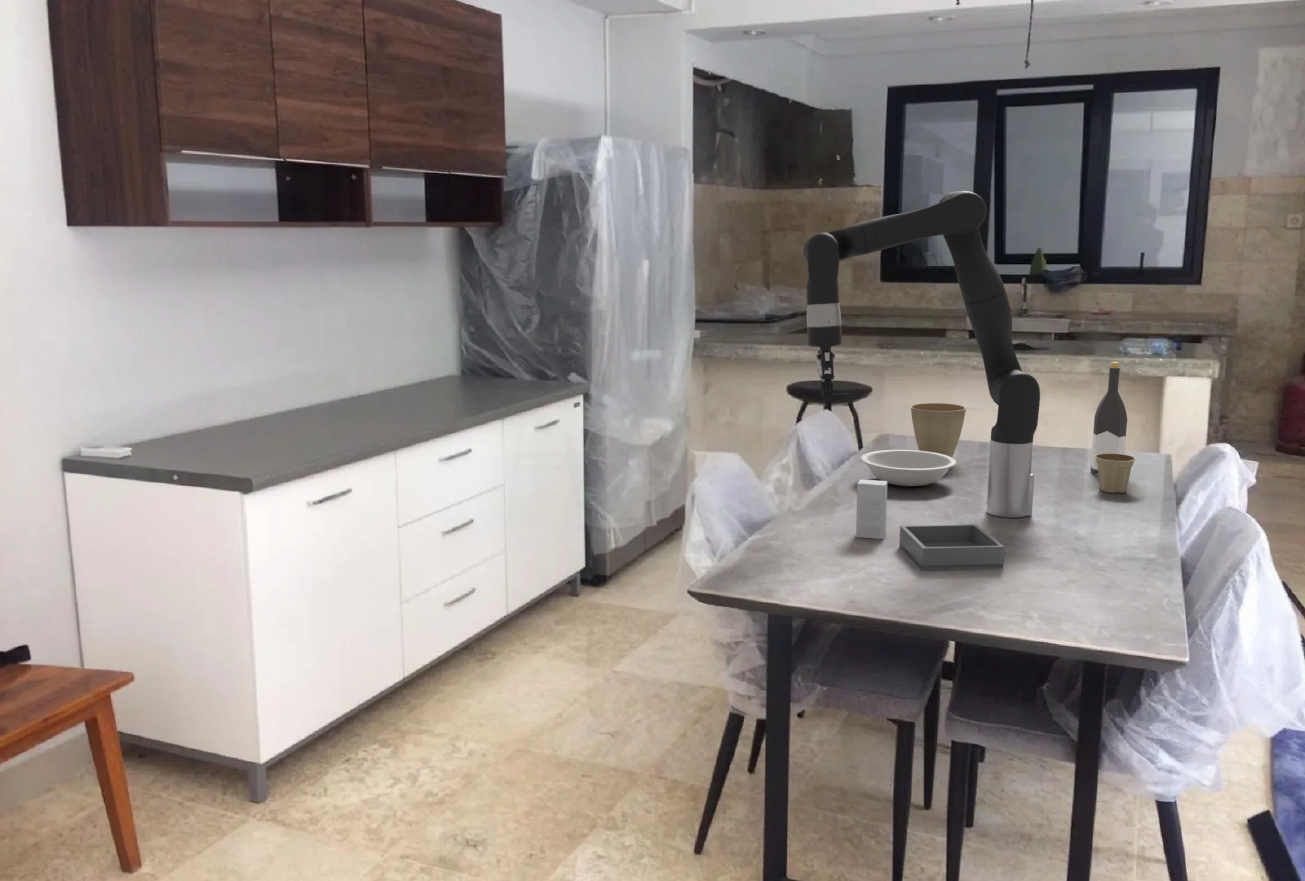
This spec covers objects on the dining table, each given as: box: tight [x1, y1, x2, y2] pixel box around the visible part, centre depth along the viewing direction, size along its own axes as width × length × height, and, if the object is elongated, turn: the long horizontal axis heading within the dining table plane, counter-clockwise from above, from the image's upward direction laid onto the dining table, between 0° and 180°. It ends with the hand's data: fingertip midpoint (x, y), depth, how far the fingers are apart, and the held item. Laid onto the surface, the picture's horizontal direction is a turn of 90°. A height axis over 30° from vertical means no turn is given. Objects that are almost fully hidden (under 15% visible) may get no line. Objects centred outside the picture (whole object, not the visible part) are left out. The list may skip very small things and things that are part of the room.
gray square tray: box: [898, 523, 1005, 572], centre depth 214 cm, size 16×16×4 cm
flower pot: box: [1095, 453, 1137, 494], centre depth 266 cm, size 9×9×9 cm
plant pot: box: [910, 402, 967, 458], centre depth 298 cm, size 15×15×16 cm
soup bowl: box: [860, 449, 957, 487], centre depth 275 cm, size 24×24×7 cm
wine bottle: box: [1090, 361, 1128, 475], centre depth 282 cm, size 8×8×30 cm
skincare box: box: [855, 479, 888, 540], centre depth 229 cm, size 6×4×12 cm
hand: (827, 396), depth 239 cm, fingers open, 8 cm apart
